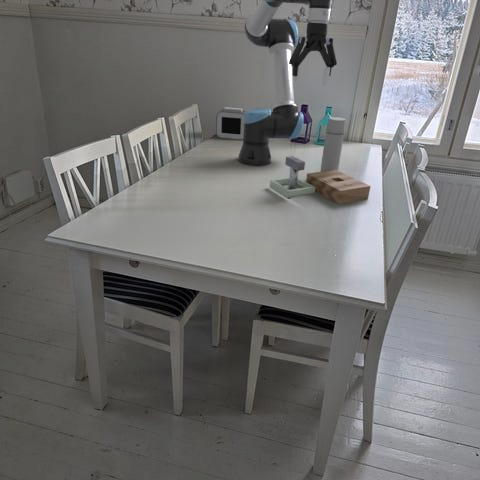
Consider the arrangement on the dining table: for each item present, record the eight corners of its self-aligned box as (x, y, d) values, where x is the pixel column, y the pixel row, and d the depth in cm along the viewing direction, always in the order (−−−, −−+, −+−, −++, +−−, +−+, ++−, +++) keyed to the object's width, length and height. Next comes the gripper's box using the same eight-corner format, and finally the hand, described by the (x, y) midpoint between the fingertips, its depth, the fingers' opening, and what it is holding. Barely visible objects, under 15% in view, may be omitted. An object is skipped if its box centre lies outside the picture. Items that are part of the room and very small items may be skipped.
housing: (305, 188, 165) (307, 173, 162) (333, 184, 171) (335, 169, 168) (337, 206, 149) (340, 190, 146) (367, 201, 155) (370, 185, 152)
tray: (269, 187, 163) (270, 179, 162) (295, 184, 168) (296, 176, 167) (288, 199, 153) (288, 191, 152) (314, 195, 158) (315, 187, 157)
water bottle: (337, 183, 171) (347, 121, 160) (318, 181, 173) (326, 119, 161) (337, 176, 179) (347, 117, 168) (318, 174, 181) (327, 115, 169)
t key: (294, 193, 157) (298, 162, 151) (282, 186, 163) (286, 156, 157) (301, 192, 158) (305, 161, 152) (289, 185, 164) (292, 155, 159)
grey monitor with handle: (215, 137, 230) (216, 108, 223) (220, 133, 240) (220, 105, 233) (245, 140, 228) (246, 111, 221) (248, 135, 238) (249, 107, 231)
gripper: (294, 20, 140) (288, 87, 150) (352, 24, 151) (342, 86, 161) (282, 20, 146) (277, 84, 156) (338, 23, 157) (330, 83, 167)
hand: (310, 85), depth 158 cm, fingers open, 13 cm apart
